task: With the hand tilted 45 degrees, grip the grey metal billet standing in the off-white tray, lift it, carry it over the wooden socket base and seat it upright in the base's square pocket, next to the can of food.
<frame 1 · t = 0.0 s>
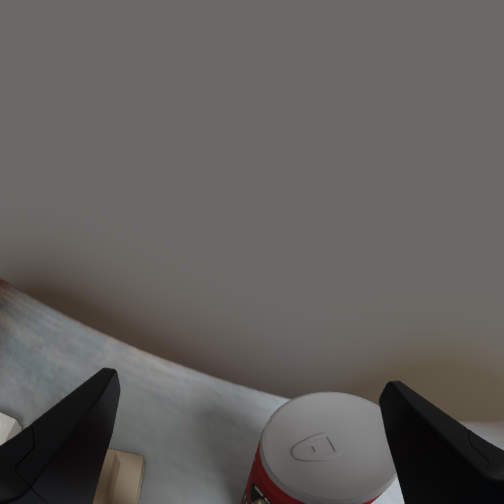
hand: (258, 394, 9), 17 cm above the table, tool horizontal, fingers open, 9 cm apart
wooden socket base: (70, 493, 14), on the table
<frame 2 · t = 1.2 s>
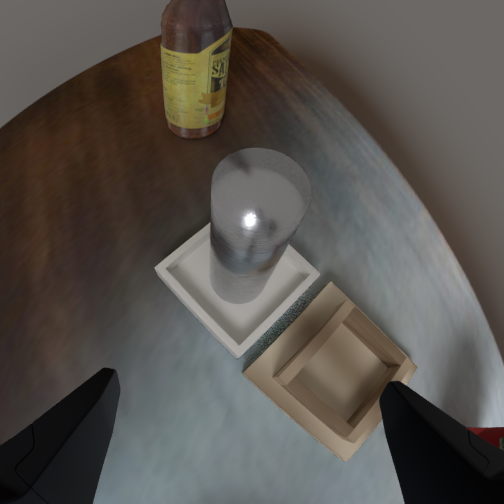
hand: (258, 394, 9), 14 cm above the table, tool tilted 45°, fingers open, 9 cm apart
wooden socket base: (335, 373, 22), on the table
canned food: (448, 462, 20), on the table
billet: (237, 276, 24), point 1 cm above the table, touching tray
tray: (237, 279, 25), on the table
sauce bottle: (194, 123, 31), on the table
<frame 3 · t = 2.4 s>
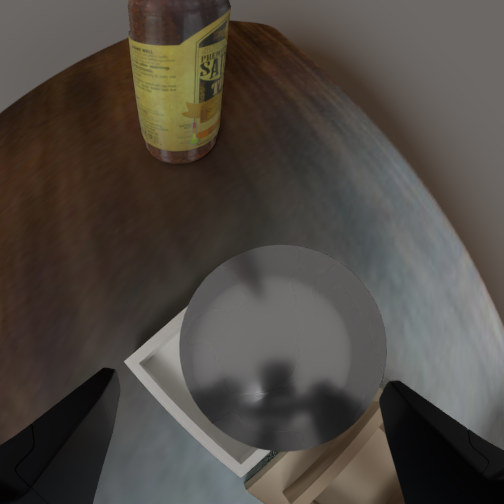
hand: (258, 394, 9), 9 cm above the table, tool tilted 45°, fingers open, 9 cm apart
wooden socket base: (358, 474, 15), on the table
billet: (238, 369, 17), point 1 cm above the table, touching tray
tray: (237, 370, 17), on the table
sauce bottle: (181, 140, 24), on the table
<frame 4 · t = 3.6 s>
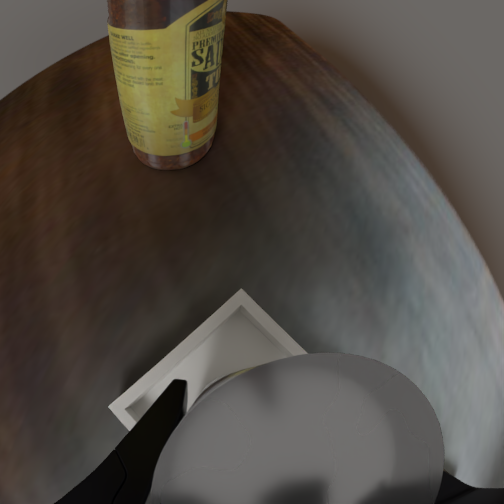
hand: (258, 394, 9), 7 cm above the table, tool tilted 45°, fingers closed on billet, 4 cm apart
billet: (238, 414, 14), point 1 cm above the table, touching gripper, tray
tray: (237, 412, 14), on the table
sauce bottle: (173, 142, 21), on the table
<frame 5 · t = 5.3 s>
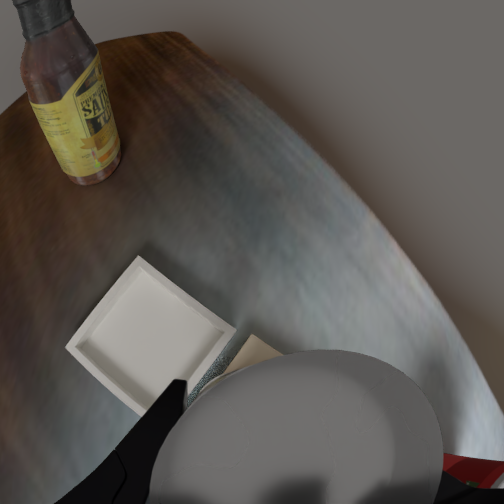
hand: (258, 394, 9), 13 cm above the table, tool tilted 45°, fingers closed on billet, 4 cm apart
wooden socket base: (272, 429, 20), on the table
canned food: (422, 486, 18), on the table
billet: (238, 413, 14), point 7 cm above the table, touching gripper
tray: (150, 344, 21), on the table
sauce bottle: (95, 163, 27), on the table
when the fingers open (9 cm above the table, at t = 7.1 s): billet drops 1 cm, resting on wooden socket base.
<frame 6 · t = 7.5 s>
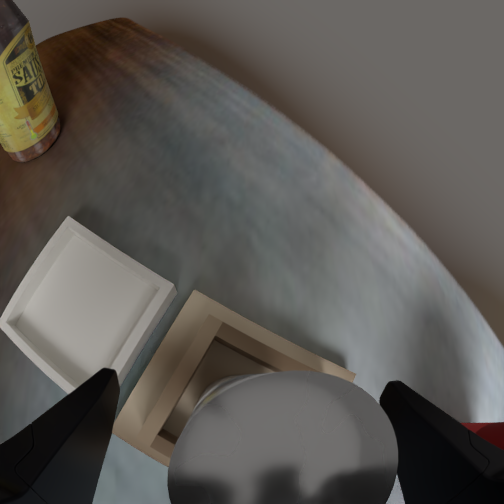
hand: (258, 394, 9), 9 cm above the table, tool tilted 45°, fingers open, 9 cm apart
wooden socket base: (234, 409, 16), on the table
canned food: (438, 466, 16), on the table
billet: (236, 413, 15), point 1 cm above the table, touching wooden socket base
tray: (84, 314, 17), on the table
sauce bottle: (36, 140, 22), on the table
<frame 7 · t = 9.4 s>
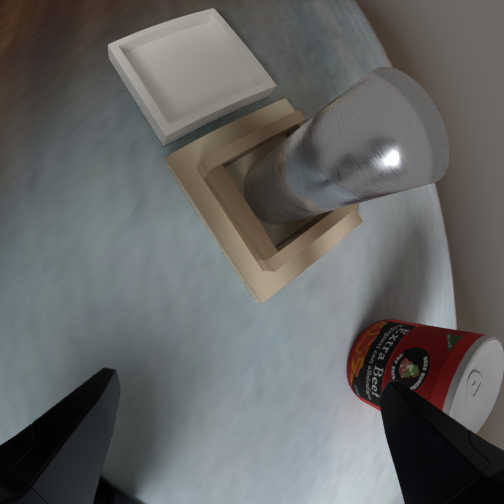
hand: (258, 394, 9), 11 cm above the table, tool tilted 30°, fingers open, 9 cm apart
wooden socket base: (269, 193, 21), on the table
canned food: (377, 360, 24), on the table
billet: (275, 191, 20), point 1 cm above the table, touching wooden socket base
tray: (187, 73, 19), on the table
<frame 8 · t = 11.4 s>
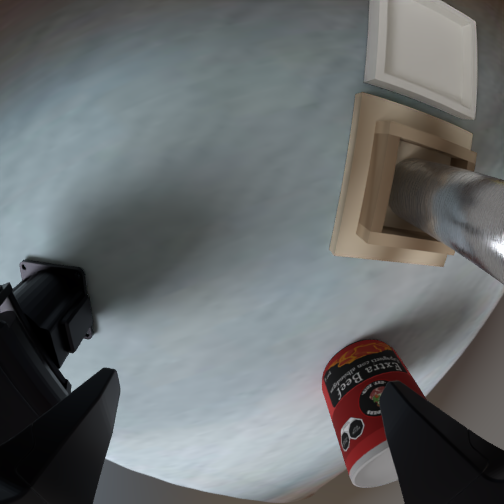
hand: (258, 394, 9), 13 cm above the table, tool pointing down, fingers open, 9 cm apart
wooden socket base: (405, 185, 20), on the table
canned food: (357, 368, 26), on the table
billet: (412, 189, 19), point 1 cm above the table, touching wooden socket base
tray: (421, 47, 16), on the table
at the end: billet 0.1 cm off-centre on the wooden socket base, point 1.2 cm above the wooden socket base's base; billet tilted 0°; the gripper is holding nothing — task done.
